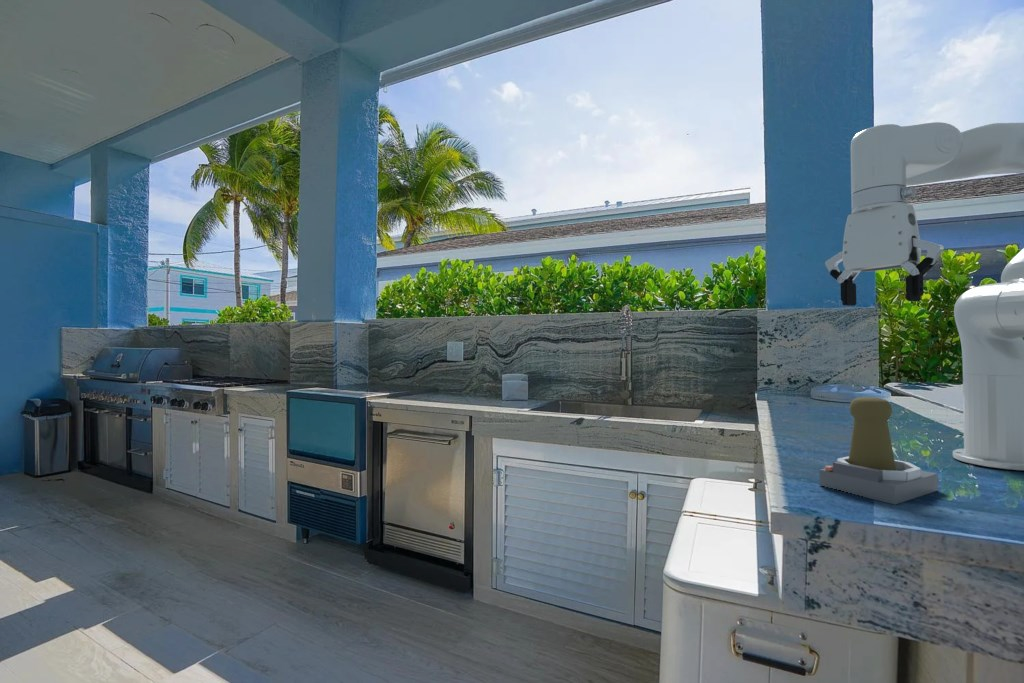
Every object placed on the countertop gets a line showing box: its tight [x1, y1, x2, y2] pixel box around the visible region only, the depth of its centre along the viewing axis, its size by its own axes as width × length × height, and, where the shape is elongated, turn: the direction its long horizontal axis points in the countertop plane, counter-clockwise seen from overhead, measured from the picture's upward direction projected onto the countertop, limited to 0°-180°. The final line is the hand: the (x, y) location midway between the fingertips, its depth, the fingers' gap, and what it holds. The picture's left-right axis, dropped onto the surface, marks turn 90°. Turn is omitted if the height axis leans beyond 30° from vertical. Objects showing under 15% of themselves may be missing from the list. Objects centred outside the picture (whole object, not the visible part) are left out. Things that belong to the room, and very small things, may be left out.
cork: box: [848, 396, 896, 471], centre depth 75 cm, size 6×6×11 cm
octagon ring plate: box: [819, 455, 939, 505], centre depth 74 cm, size 12×10×4 cm
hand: (879, 303), depth 84 cm, fingers open, 9 cm apart
